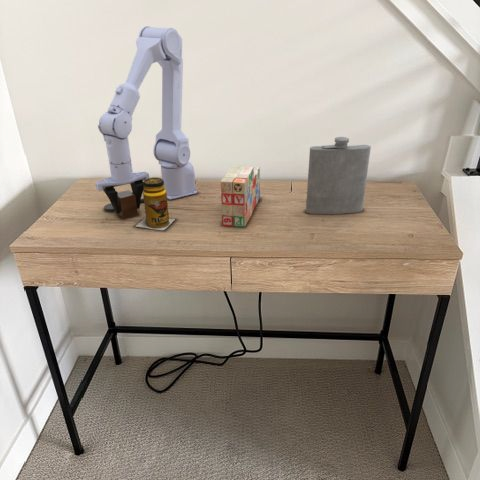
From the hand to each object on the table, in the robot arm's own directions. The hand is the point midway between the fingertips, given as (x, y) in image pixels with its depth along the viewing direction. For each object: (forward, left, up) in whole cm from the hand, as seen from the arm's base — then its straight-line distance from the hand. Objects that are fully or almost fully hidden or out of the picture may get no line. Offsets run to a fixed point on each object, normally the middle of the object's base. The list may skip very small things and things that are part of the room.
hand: (127, 210), depth 141 cm
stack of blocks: (-27, +16, -2) cm, 32 cm away
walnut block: (0, 0, -1) cm, 1 cm away
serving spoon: (-4, -6, -1) cm, 7 cm away
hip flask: (-48, +31, -2) cm, 58 cm away
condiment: (-4, +10, -2) cm, 11 cm away
